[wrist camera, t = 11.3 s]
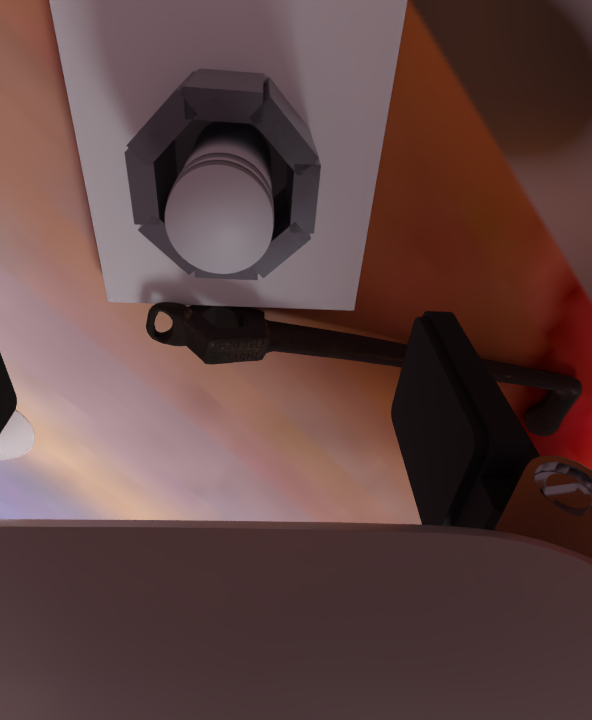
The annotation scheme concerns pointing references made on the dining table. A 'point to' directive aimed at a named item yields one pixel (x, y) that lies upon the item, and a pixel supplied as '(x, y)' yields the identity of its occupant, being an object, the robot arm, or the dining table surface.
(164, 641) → the robot arm
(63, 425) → the dining table surface
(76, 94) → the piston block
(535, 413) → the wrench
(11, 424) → the champagne flute
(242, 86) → the steel ring
